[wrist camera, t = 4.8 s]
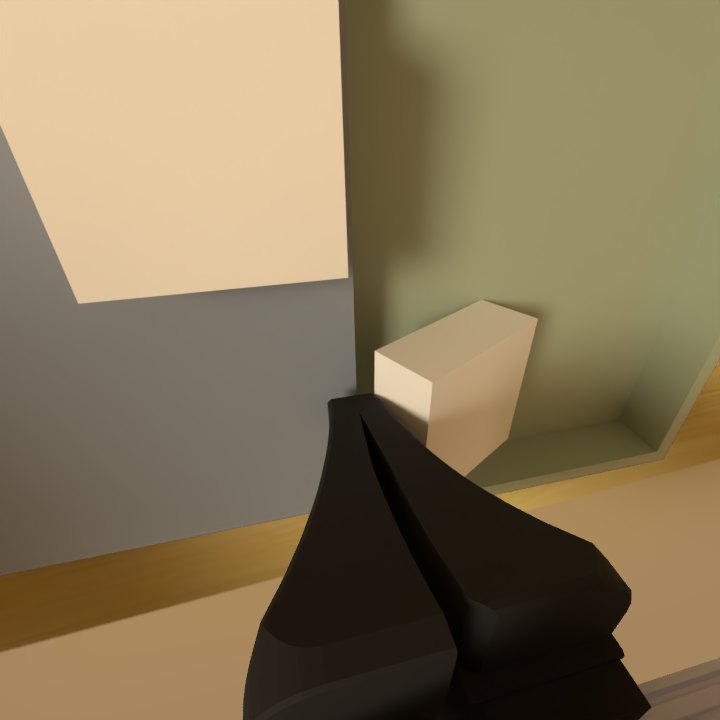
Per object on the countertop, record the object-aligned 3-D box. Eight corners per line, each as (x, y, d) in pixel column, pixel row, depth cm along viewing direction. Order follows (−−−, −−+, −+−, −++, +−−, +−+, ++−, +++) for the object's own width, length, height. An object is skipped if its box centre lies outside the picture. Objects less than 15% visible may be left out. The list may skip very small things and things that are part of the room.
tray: (349, 472, 17) (362, 522, 15) (318, -198, 7) (343, -326, 5) (619, 422, 19) (663, 459, 17) (863, -130, 10) (1031, -200, 8)
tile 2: (374, 478, 13) (418, 516, 12) (374, 350, 10) (432, 382, 9) (463, 413, 16) (507, 438, 15) (482, 299, 13) (538, 318, 12)
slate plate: (-14, 531, 14) (-51, 586, 12) (-700, -261, 5) (-1161, -444, 3) (349, 464, 17) (359, 503, 15) (320, -155, 7) (338, -233, 6)
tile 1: (112, 268, 9) (78, 303, 7) (-2, -43, 6) (-101, -104, 4) (332, 250, 10) (348, 277, 8) (317, -29, 7) (335, -76, 5)
